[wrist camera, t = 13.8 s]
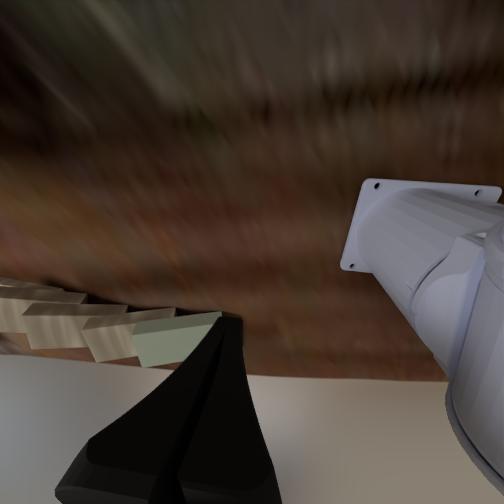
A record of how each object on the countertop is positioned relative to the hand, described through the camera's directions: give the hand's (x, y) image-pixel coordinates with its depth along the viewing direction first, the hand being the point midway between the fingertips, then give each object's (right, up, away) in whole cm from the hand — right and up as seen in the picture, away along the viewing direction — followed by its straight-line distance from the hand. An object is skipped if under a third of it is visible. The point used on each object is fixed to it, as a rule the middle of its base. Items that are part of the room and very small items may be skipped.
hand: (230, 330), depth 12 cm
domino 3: (-14, -5, +14) cm, 20 cm away
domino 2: (-8, -5, +13) cm, 16 cm away
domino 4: (-19, -3, +14) cm, 24 cm away
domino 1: (-2, -5, +12) cm, 14 cm away
